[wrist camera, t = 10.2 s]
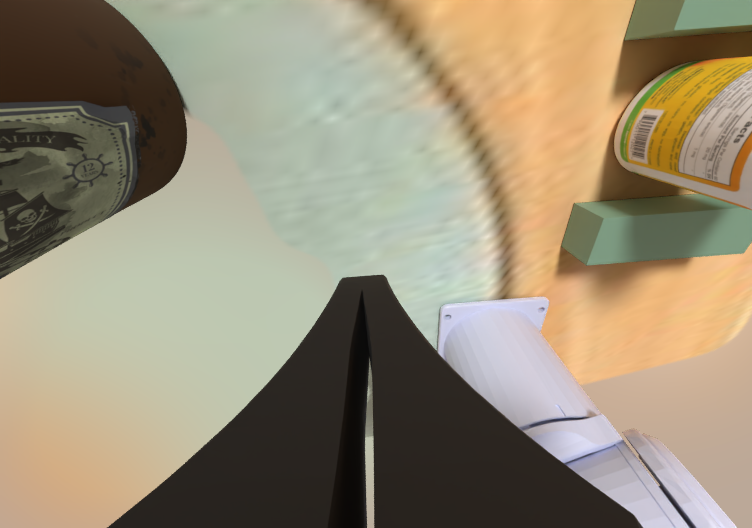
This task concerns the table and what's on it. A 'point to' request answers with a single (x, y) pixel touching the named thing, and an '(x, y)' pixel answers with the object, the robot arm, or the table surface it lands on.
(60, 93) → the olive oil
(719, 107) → the supplement bottle
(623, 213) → the green u-shaped block
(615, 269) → the table surface
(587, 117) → the table surface
